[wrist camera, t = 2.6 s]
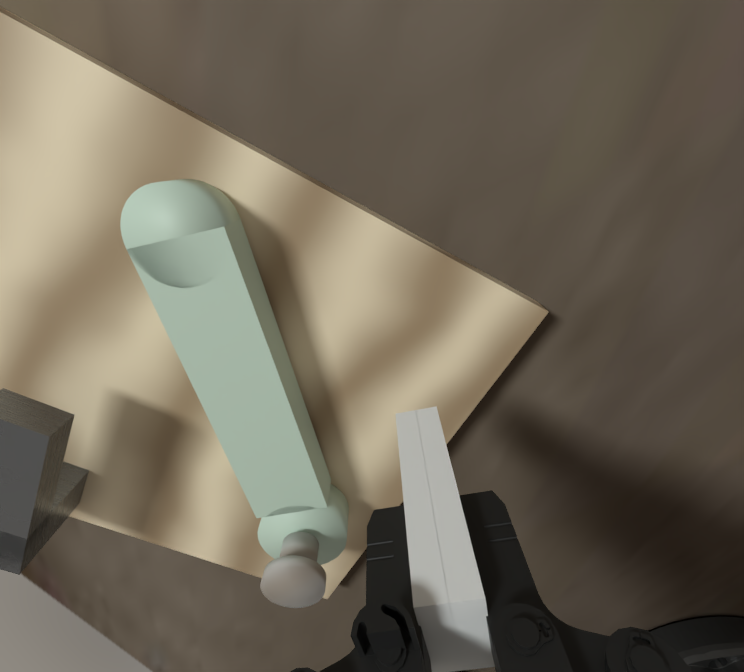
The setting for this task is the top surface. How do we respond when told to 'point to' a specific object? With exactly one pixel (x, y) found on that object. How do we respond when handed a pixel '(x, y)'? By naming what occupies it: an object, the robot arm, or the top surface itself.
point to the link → (234, 356)
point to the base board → (285, 293)
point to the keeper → (33, 477)
